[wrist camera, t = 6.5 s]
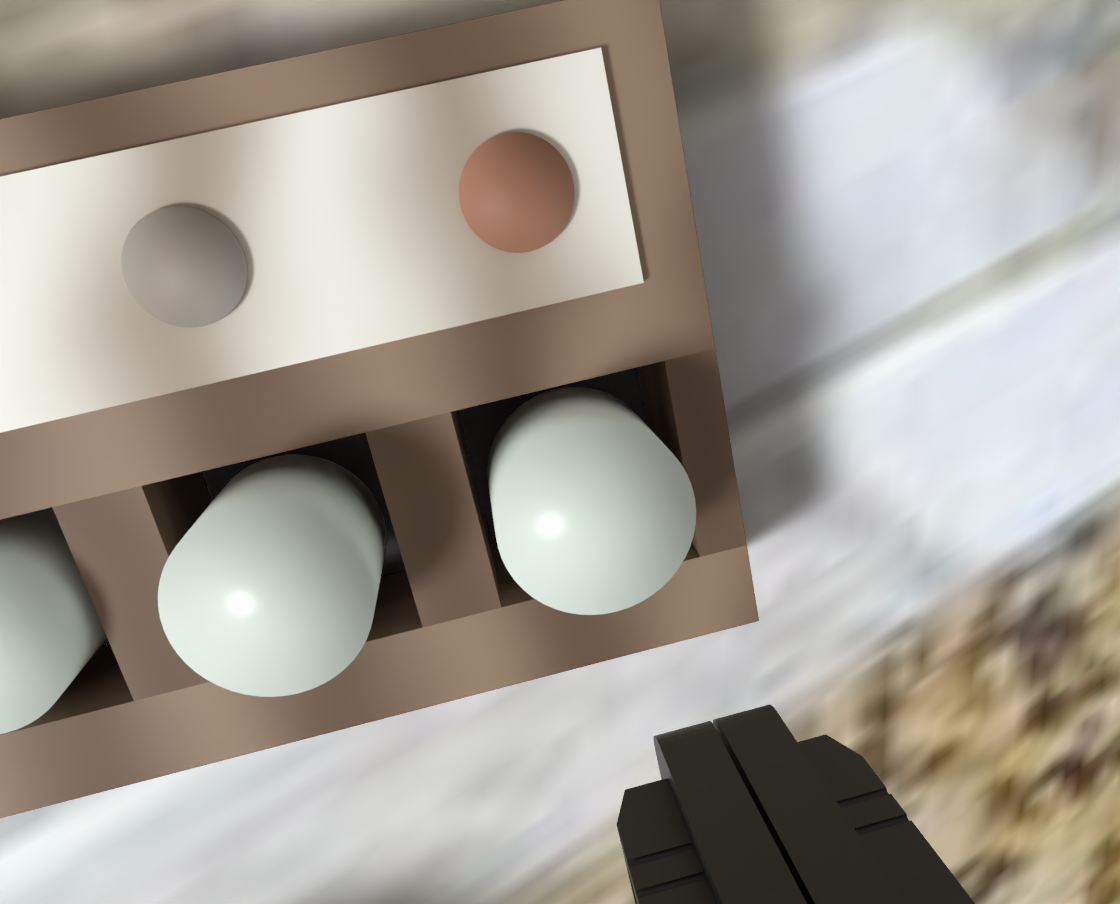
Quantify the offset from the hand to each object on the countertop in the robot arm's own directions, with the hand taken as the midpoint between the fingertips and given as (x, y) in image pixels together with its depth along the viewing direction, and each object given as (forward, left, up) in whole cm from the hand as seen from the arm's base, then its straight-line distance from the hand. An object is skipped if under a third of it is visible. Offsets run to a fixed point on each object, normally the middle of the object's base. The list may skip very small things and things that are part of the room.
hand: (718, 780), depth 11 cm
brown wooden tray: (+7, -3, -16) cm, 18 cm away
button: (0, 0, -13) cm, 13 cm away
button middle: (+7, 0, -13) cm, 15 cm away
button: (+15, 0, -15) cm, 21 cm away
